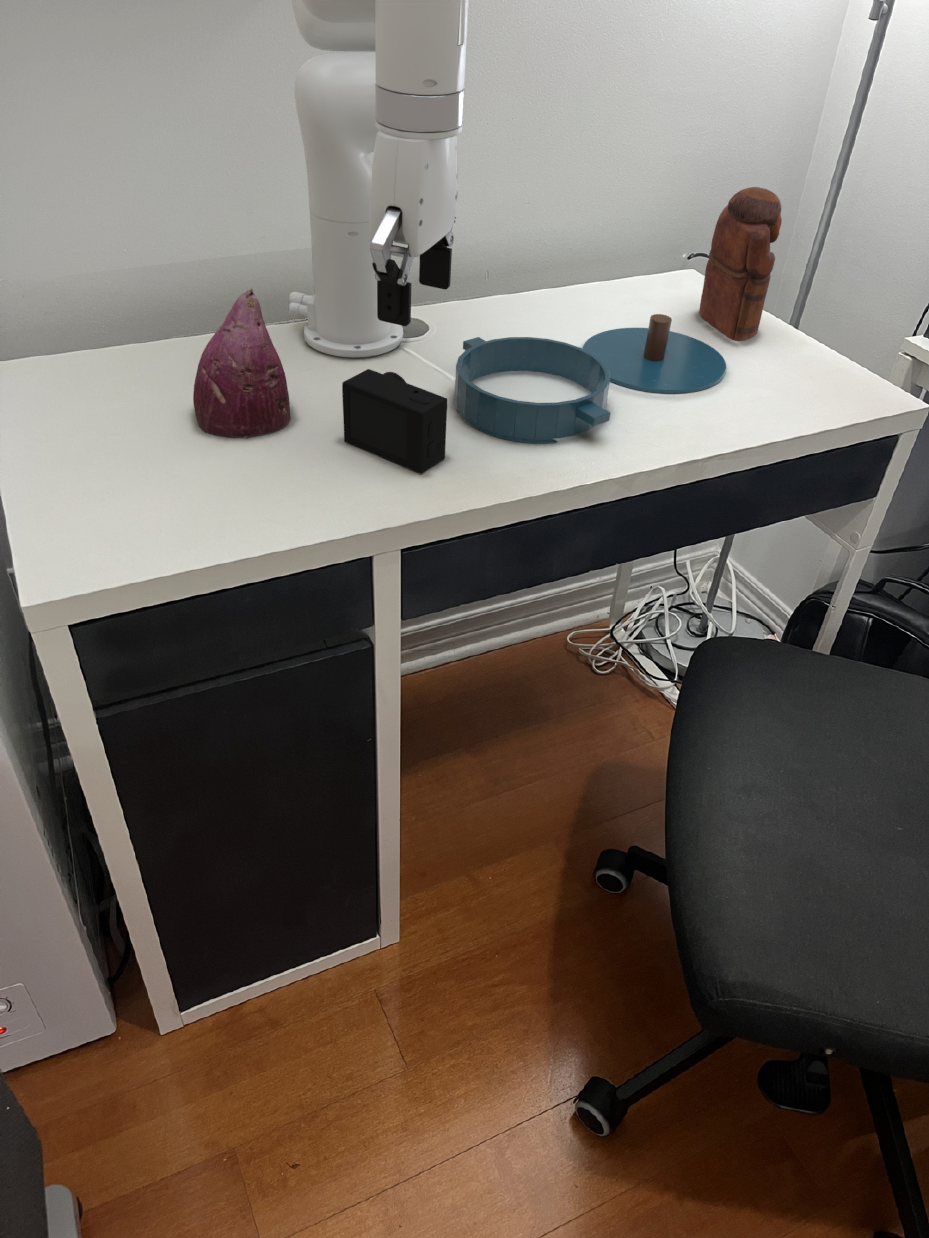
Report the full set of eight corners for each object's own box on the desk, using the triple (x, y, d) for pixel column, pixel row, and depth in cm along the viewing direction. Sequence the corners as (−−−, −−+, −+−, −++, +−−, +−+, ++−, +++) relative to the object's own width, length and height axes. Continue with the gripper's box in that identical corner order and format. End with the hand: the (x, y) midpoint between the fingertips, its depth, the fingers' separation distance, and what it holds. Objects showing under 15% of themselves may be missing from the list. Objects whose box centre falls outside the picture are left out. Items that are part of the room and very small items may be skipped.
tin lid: (655, 412, 109) (664, 362, 105) (551, 355, 120) (556, 308, 116) (754, 375, 118) (766, 328, 114) (649, 325, 129) (657, 280, 125)
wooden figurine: (771, 343, 126) (809, 201, 115) (729, 347, 124) (764, 204, 113) (725, 309, 135) (757, 174, 123) (686, 312, 133) (714, 176, 121)
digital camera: (453, 454, 100) (456, 393, 95) (421, 475, 96) (423, 413, 92) (376, 423, 104) (376, 363, 100) (344, 442, 101) (341, 381, 96)
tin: (537, 470, 98) (542, 431, 95) (411, 386, 111) (412, 349, 108) (652, 427, 107) (659, 389, 104) (522, 353, 120) (525, 318, 117)
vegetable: (255, 413, 111) (261, 279, 105) (308, 437, 105) (318, 296, 98) (173, 419, 104) (175, 275, 97) (225, 444, 97) (230, 292, 91)
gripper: (419, 83, 88) (415, 267, 99) (333, 125, 76) (339, 329, 87) (495, 95, 86) (482, 281, 97) (419, 140, 74) (414, 347, 85)
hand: (414, 303), depth 92 cm, fingers open, 9 cm apart
